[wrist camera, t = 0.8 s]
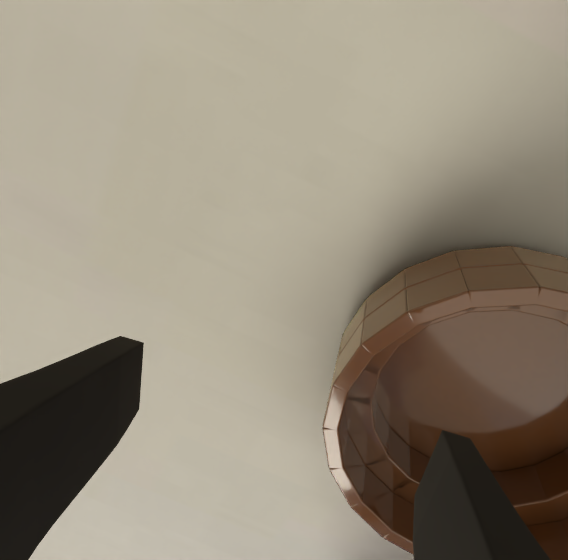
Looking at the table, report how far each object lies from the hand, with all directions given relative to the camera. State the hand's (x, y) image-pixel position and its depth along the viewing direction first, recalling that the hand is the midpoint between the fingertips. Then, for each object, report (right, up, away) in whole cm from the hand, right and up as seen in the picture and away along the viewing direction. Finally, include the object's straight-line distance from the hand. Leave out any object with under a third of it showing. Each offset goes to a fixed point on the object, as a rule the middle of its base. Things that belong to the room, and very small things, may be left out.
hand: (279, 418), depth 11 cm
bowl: (+9, -1, +9) cm, 12 cm away
